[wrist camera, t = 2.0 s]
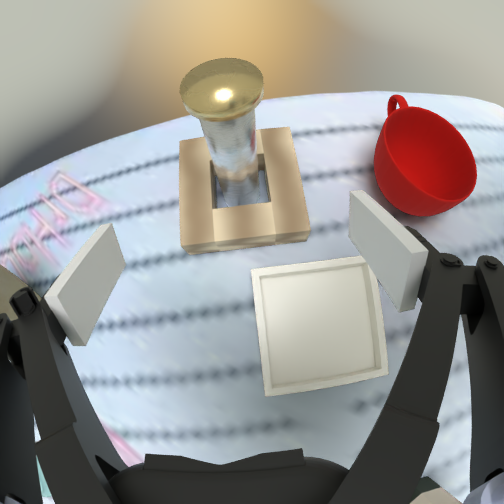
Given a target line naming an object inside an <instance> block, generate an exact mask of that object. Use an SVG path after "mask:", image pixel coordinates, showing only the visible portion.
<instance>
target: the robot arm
mask: <svg viewBox="0 0 504 504" xmlns="http://www.w3.org/2000/svg"><path fill="white" fill-rule="evenodd" d="M349 238H350V239H351V241H352V242H353V244H354V245H355V246H356V248H357V249H358V251H359V252H360V254H361V255H362V257H363V258H364V259H365V261H366V262H367V264H368V265H369V267H370V268H371V270H372V271H373V273H374V274H375V276H376V277H377V279H378V280H379V282H380V283H381V285H382V286H383V288H384V289H385V291H386V293H387V294H388V296H389V297H390V299H391V300H392V302H393V304H394V305H395V307H396V308H397V310H398V312H403V311H407V310H412V309H415V305H416V301H417V298H419V299H420V301H421V302H422V306H421V309H420V313H419V316H418V319H417V322H416V326H415V329H414V332H413V335H412V338H411V340H410V343H409V346H408V349H407V352H406V354H405V357H404V360H403V362H402V365H401V367H400V370H399V372H398V375H397V377H396V380H395V382H394V385H393V387H392V389H391V391H390V394H389V396H388V398H387V400H386V403H385V405H384V407H383V409H382V411H381V413H380V415H379V417H378V419H377V421H376V423H375V425H374V427H373V429H372V431H371V433H370V435H369V437H368V439H367V441H366V442H365V444H364V446H363V448H362V450H361V451H360V453H359V455H358V456H357V458H356V460H355V462H354V463H353V465H352V467H351V468H350V470H348V469H346V468H344V467H343V466H341V465H339V464H336V463H334V462H331V461H328V460H324V459H320V458H314V457H304V456H303V450H302V448H301V449H294V450H287V451H279V452H271V453H262V454H258V455H255V456H252V457H249V458H245V459H242V460H238V461H235V462H231V463H227V464H223V465H216V464H212V463H207V462H203V461H199V460H195V459H191V458H187V457H183V456H173V455H157V454H145V461H144V463H140V464H136V465H133V466H131V467H128V466H127V465H126V464H125V463H124V462H123V460H122V459H121V457H120V456H119V454H118V453H117V451H116V449H115V448H114V446H113V444H112V442H111V441H110V439H109V437H108V435H107V434H106V432H105V430H104V428H103V426H102V424H101V423H100V421H99V419H98V417H97V415H96V413H95V411H94V409H93V407H92V405H91V403H90V401H89V399H88V396H87V394H86V392H85V390H84V388H83V385H82V383H81V381H80V378H79V376H78V374H77V371H76V369H75V366H74V364H73V361H72V359H71V356H70V354H69V351H68V348H67V347H66V345H65V344H64V340H65V338H66V336H67V337H68V339H69V341H70V342H71V344H72V345H73V346H86V345H87V342H88V340H89V338H90V336H91V333H92V331H93V329H94V327H95V325H96V323H97V321H98V318H99V316H100V314H101V312H102V310H103V308H104V306H105V304H106V302H107V300H108V298H109V296H110V294H111V292H112V290H113V288H114V286H115V284H116V282H117V281H118V279H119V277H120V275H121V273H122V271H123V269H124V268H125V266H126V263H125V260H124V258H123V255H122V252H121V249H120V246H119V243H118V240H117V237H116V234H115V231H114V228H113V225H112V223H109V224H104V225H100V227H99V228H98V229H97V230H96V231H95V232H94V233H93V235H92V236H91V237H90V238H89V239H88V240H87V242H86V243H85V244H84V245H83V246H82V248H81V249H80V250H79V251H78V253H77V254H76V255H75V256H74V258H73V259H72V260H71V261H70V263H69V264H68V265H67V266H66V268H65V269H64V270H63V272H62V273H61V274H60V275H59V276H58V277H57V278H56V279H55V281H54V282H53V284H52V285H51V286H50V289H48V290H47V292H46V293H45V294H44V296H43V297H42V299H41V300H40V302H39V300H38V298H37V297H36V295H35V293H34V291H33V289H32V287H29V286H27V287H24V288H21V289H20V290H18V291H17V292H15V293H14V294H13V295H12V297H11V298H10V300H9V303H10V305H11V307H12V308H13V310H14V312H15V314H16V315H17V317H18V319H16V320H13V321H11V320H10V319H9V317H8V315H7V314H6V313H1V314H0V504H43V500H42V493H41V486H40V480H39V474H38V466H37V458H38V461H39V464H40V467H41V470H42V473H43V475H44V478H45V481H46V483H47V486H48V488H49V490H50V493H51V495H52V497H53V500H54V502H55V504H408V503H409V501H410V499H411V497H412V495H413V493H414V491H415V489H416V487H417V485H418V482H419V480H420V478H421V476H422V473H423V471H424V469H425V466H426V464H427V461H428V459H429V456H430V454H431V451H432V448H433V446H434V443H435V440H436V437H437V434H438V430H439V423H438V422H437V417H438V413H439V410H440V407H441V403H442V400H443V396H444V392H445V389H446V385H447V381H448V376H449V372H450V368H451V363H452V358H453V353H454V348H455V342H456V336H457V330H458V323H459V316H460V315H461V316H462V321H463V327H464V333H465V340H466V347H467V354H468V363H469V373H470V386H471V406H472V439H471V459H470V494H469V495H468V496H467V498H466V499H465V501H464V503H463V504H504V265H503V264H502V263H501V262H500V261H499V260H498V259H497V258H494V257H493V256H487V255H483V256H480V257H479V258H478V261H477V264H476V266H465V265H463V262H462V261H461V260H460V259H459V258H458V257H456V256H454V255H452V254H448V253H439V252H438V251H437V250H436V249H435V248H434V247H433V246H432V245H431V244H430V243H429V242H427V240H426V239H425V238H424V237H422V235H421V234H420V233H418V232H417V231H416V230H414V229H412V228H410V227H408V226H403V225H402V224H400V223H399V222H398V221H397V220H396V219H395V218H394V217H393V216H392V215H391V214H390V213H388V212H387V211H386V210H385V209H384V208H383V207H382V206H381V205H379V204H378V203H377V202H376V201H375V200H374V199H372V198H371V197H370V196H369V195H368V194H367V193H365V192H364V191H363V190H358V191H350V210H349ZM9 360H10V361H11V363H10V361H9ZM34 416H35V420H36V424H37V427H38V430H39V434H40V437H41V440H40V441H38V442H36V443H35V434H34ZM36 455H37V458H36Z"/></svg>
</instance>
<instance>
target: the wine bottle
mask: <svg viewBox="0 0 504 504" xmlns="http://www.w3.org/2000/svg"><path fill="white" fill-rule="evenodd" d="M408 504H462V503H461V502H460V501H458V500H457V499H456V498H455V497H453V496H452V495H451V494H449V493H448V492H447V491H446V490H444V489H443V488H442V487H440V486H439V485H438V484H437V483H435V482H434V481H433V480H432V479H431V478H429V477H428V476H427V477H423V478H420V480H419V482H418V485H417V487H416V489H415V491H414V493H413V495H412V497H411V499H410V501H409V503H408Z"/></svg>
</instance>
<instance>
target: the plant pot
mask: <svg viewBox="0 0 504 504" xmlns="http://www.w3.org/2000/svg"><path fill="white" fill-rule="evenodd" d="M27 286H28V285H27V284H25V283H24V282H23V281H22V280H20V279H19V278H18V277H17V276H15V275H14V274H13V273H11V272H10V271H9V270H7V269H6V268H4V267H3V266H2V265H0V314H1V313H6V314H7V315H8V317H9V319H10V320H11V321H13V320H16V319H18V317H17V315H16V314H15V312H14V310H13V308H12V307H11V305H10V303H9V300H10V298H11V297H12V295H13V294H14V293H15V292H17V291H18V290H20V289H21V288H24V287H27ZM34 293H35V295H36V297H37V298H38V300H39V302H40V300H41V299H42V298H41V297H40V296H39V295H38V294H37V293H36V292H35V291H34Z"/></svg>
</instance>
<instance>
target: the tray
mask: <svg viewBox="0 0 504 504" xmlns="http://www.w3.org/2000/svg"><path fill="white" fill-rule="evenodd" d="M251 275H252V284H253V293H254V302H255V311H256V320H257V329H258V338H259V347H260V356H261V365H262V374H263V382H264V391H265V397H268V396H276V395H284V394H292V393H299V392H306V391H312V390H318V389H324V388H329V387H335V386H340V385H345V384H350V383H354V382H359V381H363V380H368V379H372V378H376V377H380V376H384V375H388V374H389V371H388V359H387V348H386V339H385V330H384V322H383V315H382V308H381V301H380V294H379V288H378V282H377V277H376V276H375V274H374V273H373V271H372V270H371V268H370V267H369V265H368V264H367V262H366V261H365V259H364V258H363V257H362V255H361V256H354V257H346V258H339V259H331V260H323V261H315V262H307V263H299V264H291V265H283V266H274V267H266V268H258V269H251Z"/></svg>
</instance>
